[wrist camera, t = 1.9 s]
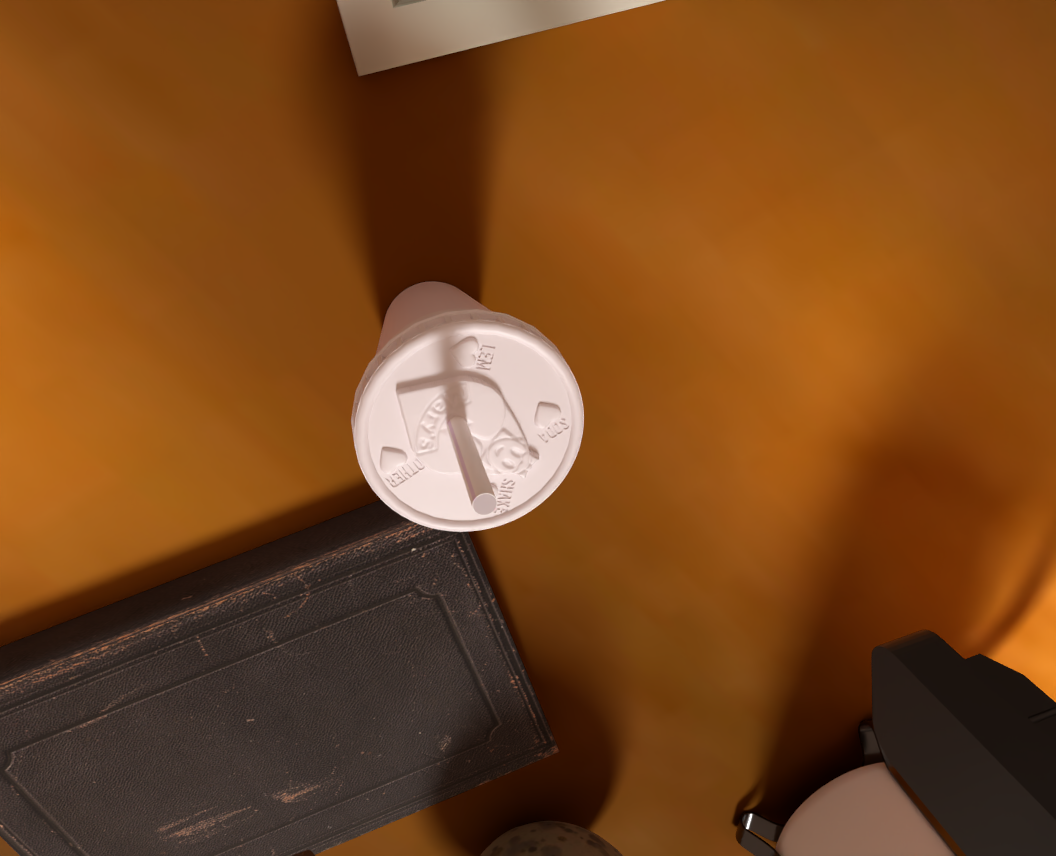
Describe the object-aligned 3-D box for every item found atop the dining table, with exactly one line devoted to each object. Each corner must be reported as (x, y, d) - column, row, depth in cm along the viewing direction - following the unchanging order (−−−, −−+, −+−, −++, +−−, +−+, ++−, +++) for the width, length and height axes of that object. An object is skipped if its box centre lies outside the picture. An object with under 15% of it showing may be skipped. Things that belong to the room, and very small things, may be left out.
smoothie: (406, 209, 27) (467, 319, 15) (546, 304, 30) (697, 465, 17) (313, 355, 29) (298, 568, 16) (455, 433, 31) (535, 668, 19)
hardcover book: (548, 718, 40) (559, 753, 38) (119, 896, 38) (107, 943, 36) (444, 467, 32) (451, 493, 30) (-94, 675, 31) (-124, 717, 29)
